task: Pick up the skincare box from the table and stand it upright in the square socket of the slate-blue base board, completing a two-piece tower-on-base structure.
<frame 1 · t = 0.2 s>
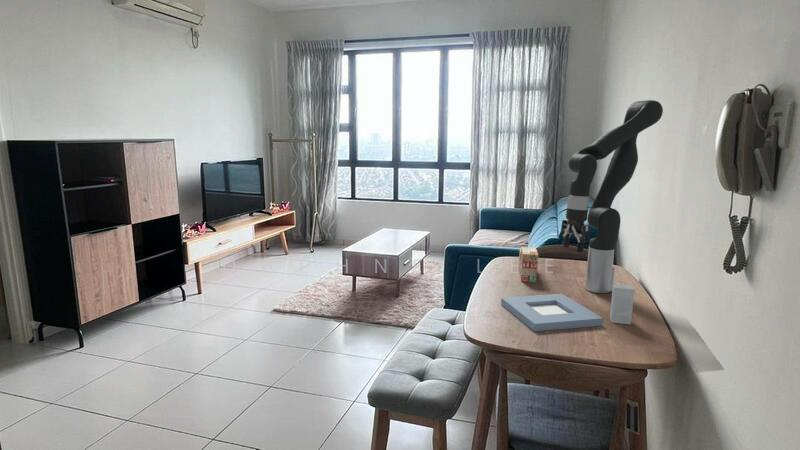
hand: (572, 249, 176), 17 cm above the table, tool pointing down, fingers open, 8 cm apart
stack of blocks: (526, 275, 202), on the table
base board: (548, 314, 157), on the table
skincare box: (619, 322, 152), on the table
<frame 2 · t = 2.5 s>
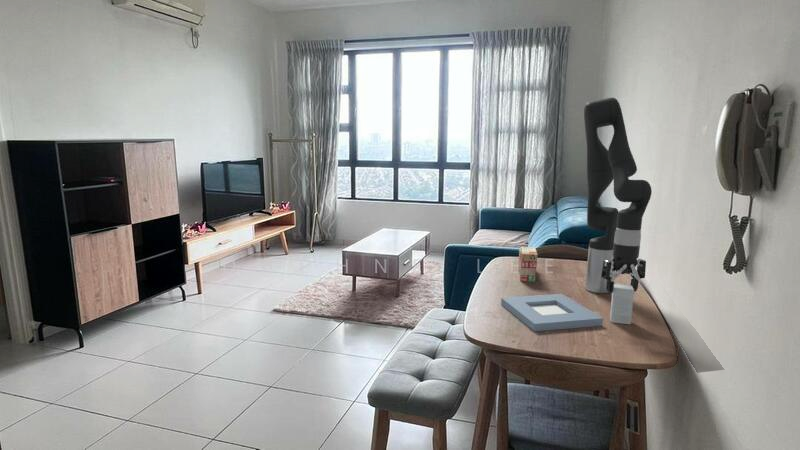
hand: (621, 291, 150), 10 cm above the table, tool pointing down, fingers open, 8 cm apart
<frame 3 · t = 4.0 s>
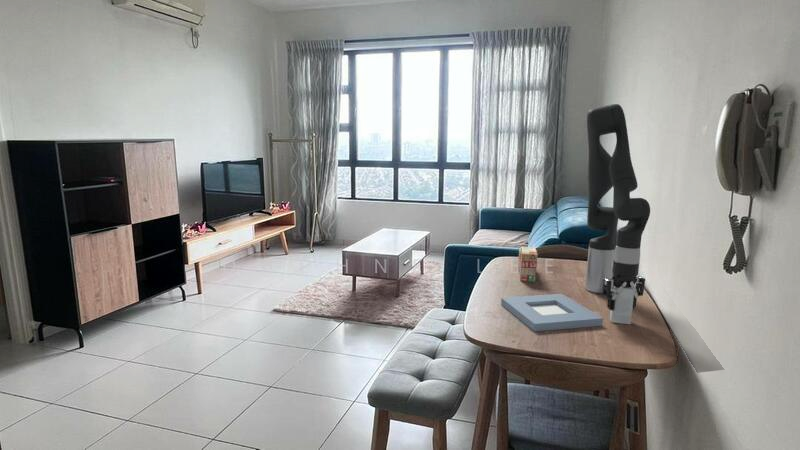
hand: (621, 308, 151), 4 cm above the table, tool pointing down, fingers closed on skincare box, 7 cm apart
skincare box: (619, 321, 152), on the table, touching gripper
everything else where it was.
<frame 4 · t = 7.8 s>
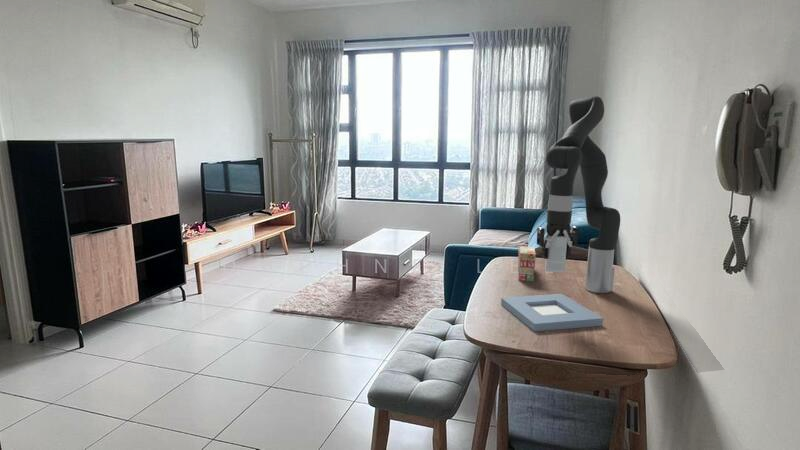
hand: (555, 257, 153), 20 cm above the table, tool pointing down, fingers closed on skincare box, 7 cm apart
skincare box: (554, 271, 154), point 15 cm above the table, touching gripper
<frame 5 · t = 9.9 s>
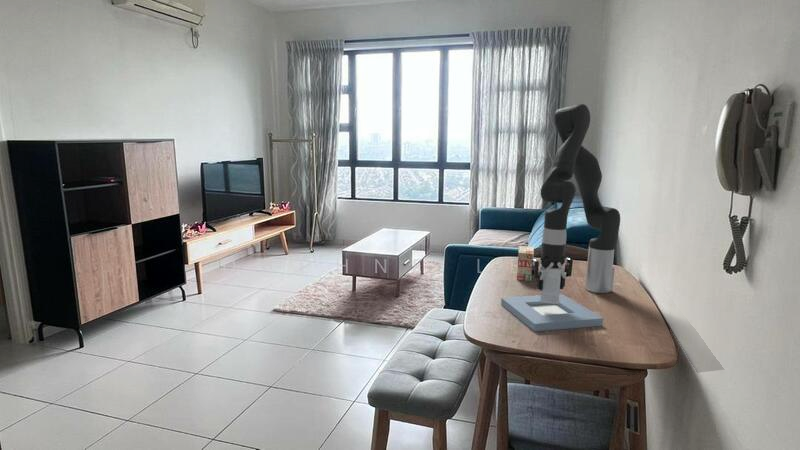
hand: (550, 289, 155), 9 cm above the table, tool pointing down, fingers closed on skincare box, 7 cm apart
skincare box: (549, 302, 156), point 4 cm above the table, touching gripper
when the fingers open (6 cm above the table, at t = 11.7 s): skincare box stays where it is, resting on base board.
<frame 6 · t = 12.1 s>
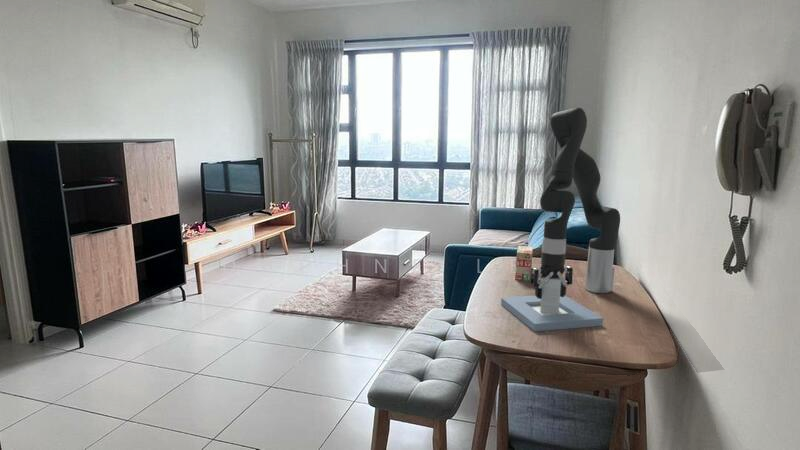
hand: (550, 297, 156), 6 cm above the table, tool pointing down, fingers open, 8 cm apart
skincare box: (549, 311, 157), point 1 cm above the table, touching base board
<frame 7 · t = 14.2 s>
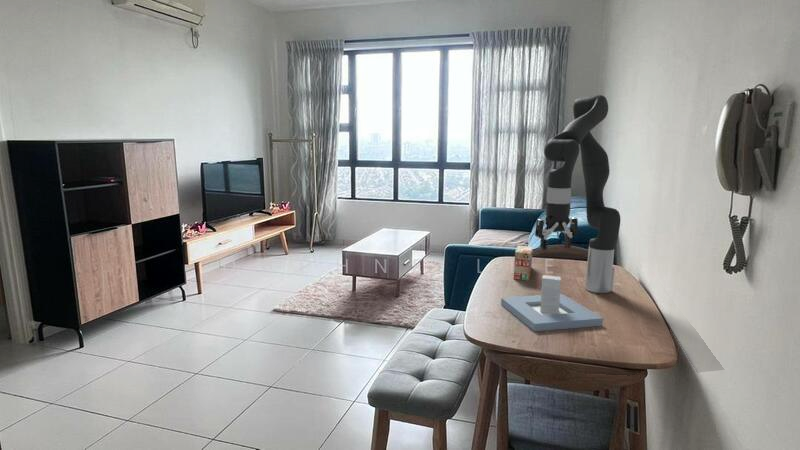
hand: (555, 249, 155), 22 cm above the table, tool pointing down, fingers open, 8 cm apart
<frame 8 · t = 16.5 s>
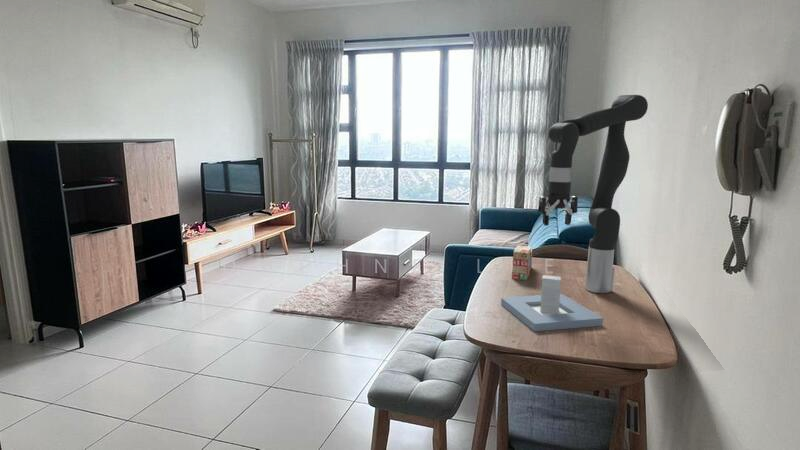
hand: (556, 224, 167), 28 cm above the table, tool pointing down, fingers open, 8 cm apart
at the end: skincare box 0.1 cm off-centre on the base board, point 0.9 cm above the base board's base; skincare box tilted 0°; the gripper is holding nothing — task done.
